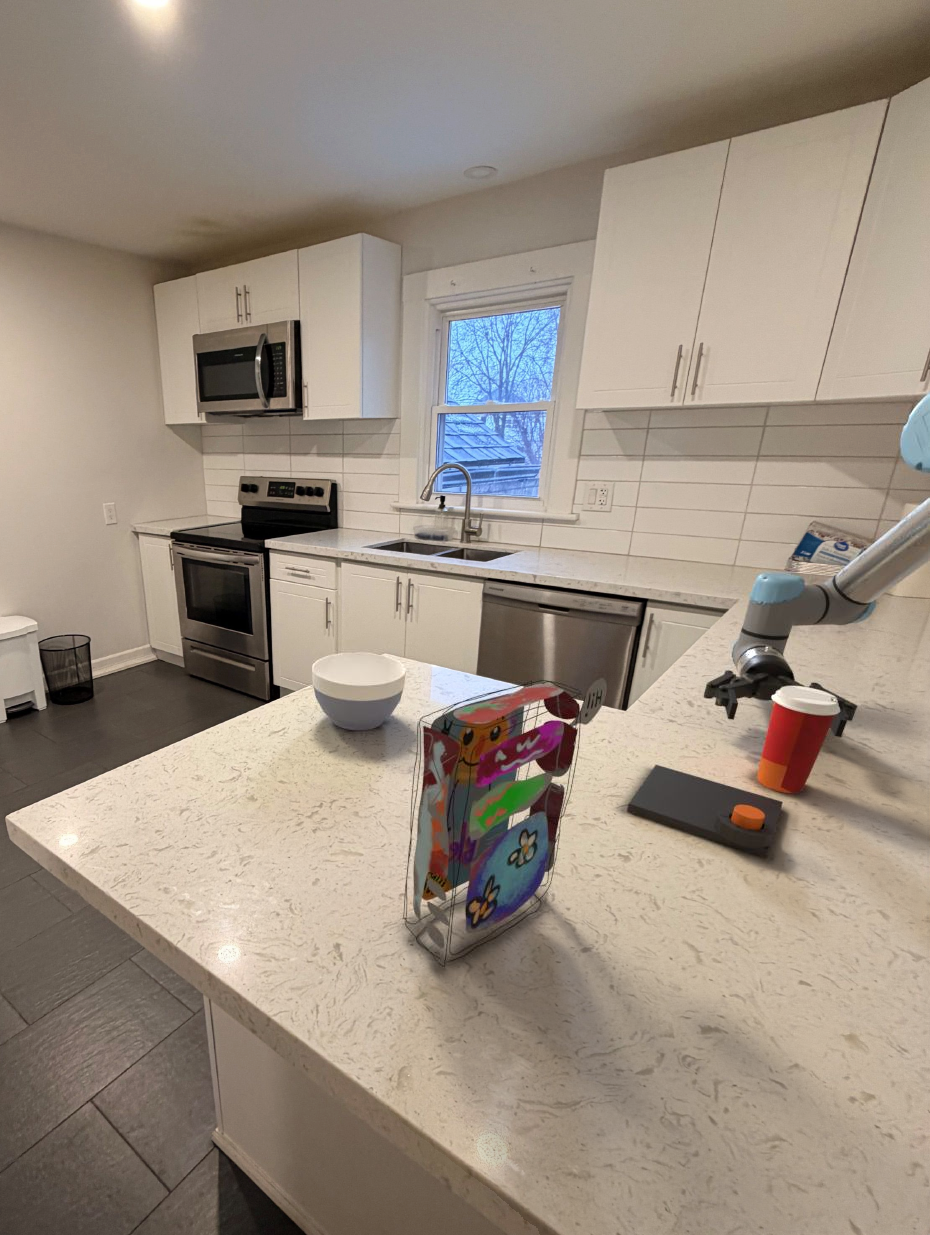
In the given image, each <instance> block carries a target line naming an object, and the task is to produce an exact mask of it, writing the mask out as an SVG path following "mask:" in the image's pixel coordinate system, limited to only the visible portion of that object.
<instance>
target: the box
mask: <svg viewBox="0 0 930 1235" xmlns="http://www.w3.org/2000/svg"><path fill="white" fill-rule="evenodd" d="M540 682H542V683H540ZM535 683H536V684H535ZM546 683H550V684H553V685H555V686H553V685H550V684H546ZM526 685H529V686H526ZM561 685H562V686H561ZM522 686H523V687H522ZM563 686H565V687H567V688H565V687H563ZM520 687H522V688H520ZM516 688H520V689H519V690H516V691H514V692H511V693H505V694H502V695H498V696H494V697H490V698H486V699H482V698H485V697H488V696H490V695H492V694H497V693H501V692H504V691H508V690H511V689H512V690H513V689H516ZM568 688H570V689H572V690H570V689H568ZM607 688H608V686H607V681H606V680H605V678H604V677H601V678H598V679H596V680H595V681H594V682H592V684H591V685H590V687H589V688H588V690H587V691H586V694H584V699H583V702H582V705H581V706H580V703H578V701H577V700H576V699H575V698H577V697H578V696H579V695H580V696H583V694H582V690H580V689H578V688H575V687H572V686H569V685H567V684H564V683H561V682H556V681H552V680H547V679H546V680H545V679H541V680H536V681H533V680H532V679H531V680H528V681H527V682H525V683H522V684H520V685H517V686H512V687H508V688H504V689H500V690H495V691H491V692H487V693H483V694H480V695H476V696H472V697H470V698H467V699H465V700H462V701H458V702H456V703H454V704H451V705H448V706H446V707H445V708H444V707H443V708H442V709H441V708H440V709H439V710H436V711H433V712H430V713H429V714H427V715H423V716H422V717H420V718H419V719H417V720H418V724H417V727H416V754H415V762H414V767H413V775H412V785H411V798H410V800H411V802H410V818H411V820H410V824H409V825H410V828H409V830H410V839H409V845H408V856H407V868H406V876H405V877H406V878H405V886H404V896H405V897H404V900H403V913H402V914H403V916H402V919H403V920H404V921H405V922H404V923H405V924H404V925H405V926H404V927H406V928H407V929H408V931H409V932H410V933H411V934H412V935H413V936H414V938H415V941H416V942H417V943H418V944H419V945H420V946H421V947H422V948H424V949H425V950H426V951H427V952H429V953H430V955H431V956H432V957H433V959H434V961H436V962H437V963H438V965H440V966H441V967H442V968H445V967H446V962H448V963H450V962H454V961H456V960H458V959H461V958H463V957H465V956H467V955H468V954H470V953H471V952H473V950H475V949H477V948H478V947H480V946H482V945H485V944H487V943H489V942H491V941H493V940H495V939H497V938H498V937H499V936H501V935H502V934H503V933H504V932H506V931H507V930H509V929H511V928H514V927H515V926H516V925H518V924H519V923H521V922H522V921H523V920H524V919H526V918H527V917H529V915H532V914H534V913H536V912H538V911H539V909H540V908H541V906H542V901H541V900H542V898H543V897H544V896H545V894H546V893H547V892H548V890H549V889H550V886H551V884H552V882H553V876H554V872H555V871H554V870H555V865H556V861H557V857H558V851H559V843H560V837H561V835H560V834H561V826H562V825H561V824H562V818H563V817H564V815H565V812H566V809H567V806H568V803H569V800H570V796H571V794H572V789H573V784H574V783H573V782H574V779H575V778H574V777H575V772H576V766H577V762H578V756H579V751H580V750H579V749H580V740H581V739H580V738H581V724H582V725H585V726H586V725H588V724H590V723H591V722H592V721H593V719H594V718H595V717H596V716H597V714H598V713H599V711H600V710H601V708H602V706H603V704H604V702H605V700H606V696H607V690H608V689H607ZM565 690H566V691H568V692H570V693H573V694H576V695H574V696H571V694H569V693H568V692H566V691H565ZM573 690H575V691H576V692H575V691H573ZM477 699H478V701H474V700H477ZM479 699H482V700H479ZM471 701H473V702H471ZM541 701H543V705H540V703H541ZM465 702H470V703H467V704H465V705H462V706H459V707H456V706H458V705H459V704H463V703H465ZM537 702H538V703H537ZM535 703H537V704H538V706H536V707H531V705H532V704H535ZM525 706H528V708H527V709H526V710H525ZM455 707H456V708H455ZM544 707H545V709H546V711H544V712H541V713H539V708H544ZM453 708H454V709H453ZM446 709H447V710H446ZM451 709H452V710H451ZM535 709H536V710H537V711H536V715H534V716H532V717H530V718H528V715H529V711H531V710H535ZM444 710H446V711H444ZM441 711H444V712H443V713H442V715H439V716H438V717H437V718H435V719H434V720H433V722H432V723H430V722H427V721H424V720H422V719H423V718H425V717H429V716H431V715H433V714H435V713H439V712H441ZM525 713H526V715H525ZM546 713H549V714H550V715H552V716H553V717H555V718H558V719H560V720H555V719H554V720H553V719H552V720H548V721H544V723H543V724H541V725H540V726H536V725H537V720H538V717H539V716H542V715H543V714H546ZM524 715H525V719H524ZM534 718H535V721H534V722H535V723H534V727H533V728H532V729H530V730H527V731H525V725H526V722H528V721H530V720H531V719H534ZM562 720H568V721H569V720H572V722H570V723H567V722H565V721H562ZM421 722H423V723H424V724H427V725H429V726H430V727H428V726H427V725H422V728H421ZM577 725H579V726H578V727H577ZM421 729H422V730H421ZM422 732H423V736H422ZM577 736H578V744H577ZM422 737H423V774H422V785H421V786H422V788H421V792H420V794H421V795H420V800H419V807H418V812H417V813H418V814H417V829H416V830H417V833H416V844H415V850H414V856H413V870H412V871H413V897H412V908H413V912H414V916H416V918H417V919H418V921H416V922H415V923H413V922H409V921H408V920H407V918H408V874H409V864H410V858H411V850H412V842H413V841H412V838H413V837H412V834H413V826H414V817H415V816H414V815H415V808H416V802H417V796H418V789H419V788H418V787H419V781H420V780H419V779H420V770H421V760H422V744H421V743H422V742H421V740H422V739H421V738H422ZM576 745H577V751H576V757H575V763H574V769H573V775H572V778H571V784H570V777H571V770H572V766H573V760H574V755H575V748H576ZM418 750H419V751H418ZM418 752H419V764H418V774H417V783H416V792H415V797H414V785H415V784H414V783H415V771H416V767H417V762H418ZM533 761H535V763H536V764H537V766H538V767H539V768H540V769H541V770H542V771H543V772H542V773H540V774H537V775H534V776H532V777H529V778H528V774H529V770H530V766H531V762H533ZM526 764H528V768H527V772H526V775H525V776H526V777H525V779H524V780H523V779H522V780H521V779H520V780H519V775H520V769H521V767H523V766H524V765H526ZM568 771H569V773H568ZM567 773H568V780H567V785H566V792H565V786H564V785H563V784H560V783H559V784H557V783H555V782H553V777H555V778H560V777H564V776H565V775H566V774H567ZM569 784H570V790H569ZM568 790H569V791H570V792H569V794H568ZM567 795H568V798H567ZM413 797H414V798H415V799H414V798H413ZM566 798H567V800H566ZM413 799H414V805H413ZM528 809H529V814H527V815H525V816H524V819H523V820H520V821H519V822H517V823H516V824H514V825H513V822H514V815H516V814H519V813H523V812H524V811H526V810H528ZM510 817H511V818H512V819H511V825H510V828H509V824H510ZM557 833H558V834H557ZM556 843H557V845H556ZM555 850H556V851H555ZM551 870H552V873H551V878H549V874H550V871H551ZM546 873H547V881H546V883H544V884H543V885H541V884H542V882H543V880H544V876H545V875H546ZM549 879H550V882H549ZM466 883H468V886H466V887H464V888H462V889H461V890H460V891H459V892H457V888H458V887H460V886H461V885H464V884H466ZM548 883H549V885H548V887H547V889H546V890H545V892H544V893H543V894H542V895H541V896H540V898H539V896H537V895H536V893H537V891H538V890H539V887H544V886H546V885H547V884H548ZM466 889H467V891H466V892H467V893H466V899H465V900H463V901H460V902H456V897H457V896H458V895H460V894H461V893H462V892H463V891H464V890H466ZM450 891H452V892H451V898H450V899H448V900H447V894H446V893H448V892H450ZM533 896H535V897H536V899H537V900H536V901H535V902H533V904H532V905H530V906H529V907H528V908H526V909H525V910H524V911H523V912H522V913H520V914H519V915H518V916H516V917H514V918H513V919H511V920H509V921H508V922H506V923H505V924H503V925H500V926H499V927H498V928H496V929H495V930H493V931H491V932H490V933H489V934H487V935H486V936H484V937H483V938H481V939H480V940H478V941H476V942H473V943H472V944H470V945H468V946H466V947H465V948H463V949H462V950H460V951H458V952H456V953H452V952H451V943H452V932H453V920H454V911H455V906H457V905H459V904H461V903H462V904H463V903H464V902H465V909H464V910H465V911H464V912H465V913H464V914H465V915H464V916H465V932H466V933H467V935H472V934H476V933H479V932H482V931H486V930H488V929H490V928H492V927H494V926H495V925H497V924H499V923H500V922H502V921H504V920H506V919H507V918H509V917H511V916H513V915H514V913H516V912H517V911H518V910H519V909H520V908H521V907H523V906H524V905H525V904H526V903H527V902H528V901H530V900H531V898H532V897H533ZM436 898H438V899H439V900H441V901H442V903H441V904H440V905H439V906H437V905H436V904H434V903H432V902H431V901H430V900H433V899H436ZM422 900H424V901H427V902H426V903H427V904H426V905H427V908H428V911H429V912H430V913H429V914H426V915H425V916H423V917H421V913H422V912H421V911H422V910H421V904H422ZM448 902H450V905H449V906H448V907H446V908H444V909H443V910H442V909H441V908H440V907H441V906H443V905H444V904H445V903H448ZM538 902H539V903H540V904H539V905H538V908H537V909H536V910H534V911H532V912H530V913H527V914H526V915H525V916H524V917H522V918H521V919H520V920H518V922H516V923H515V924H513V925H511V926H509V927H508V928H506V929H504V930H503V931H502V932H500V933H499V934H498V935H496V936H495V937H492V938H491V939H489V940H487V941H484V942H482V941H483V940H485V939H487V938H488V937H489V936H491V935H492V934H493V933H495V932H496V931H498V930H499V929H501V928H503V927H504V926H507V925H508V924H510V923H511V922H513V921H515V920H516V919H518V918H519V917H521V916H522V915H523V914H525V913H526V912H528V910H529V909H531V908H532V907H533V906H535V905H536V903H538ZM449 908H450V909H449ZM448 909H449V910H450V911H449V919H448V917H447V915H446V913H445V912H444V911H446V910H448ZM430 915H433V916H434V919H432V920H431V921H429V920H428V921H427V922H426V925H425V927H424V928H423V929H422V930H421V931H420V932H419V933H418V934H417V935H415V934H414V933H413V931H412V930H411V929H410V928H409V927H408V926H407V923H408V924H410V925H416V924H418V923H419V922H421V921H422V920H423V919H425V918H426V917H428V916H430ZM436 919H438V920H439V921H440V922H441V923H442V924H443V925H444V926H447V927H448V928H447V937H446V938H447V939H446V940H445V937H444V934H443V933H442V931H441V930H440V929H439V928H438V927H437V926H435V925H434V924H433V922H434V921H435V920H436ZM424 930H426V933H427V935H428V936H429V938H430V939H431V941H432V942H433V943H434V944H435V945H436V946H437V947H438V948H440V949H444V948H445V956H444V957H445V958H444V960H442V959H441V958H440V957H439V956H437V955H436V954H435V953H433V951H431V950H429V948H428V947H427V946H426V945H425V944H424V943H423V942H422V941H421V940H420V939H419V938H418V937H419V935H420V934H422V932H423V931H424ZM449 935H450V936H449ZM445 941H446V942H445ZM480 942H482V943H480ZM448 943H449V946H448ZM478 943H480V944H478ZM476 944H478V945H476ZM474 945H476V946H475V947H473V948H471V950H469V951H468V952H467V953H465V954H463V955H461V956H459V957H456V958H453V959H451V960H447V952H448V950H449V953H450V955H451V956H457V955H458V954H459V955H460V954H461V953H462V952H464V951H465V950H466V949H468V948H470V947H472V946H474ZM445 946H446V947H445ZM448 947H449V948H448ZM438 960H440V962H441V961H442V962H443V964H441V963H440V962H439V961H438ZM446 960H447V961H446Z"/></svg>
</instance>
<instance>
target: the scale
mask: <svg viewBox="0 0 930 1235" xmlns="http://www.w3.org/2000/svg"><path fill="white" fill-rule="evenodd" d="M737 805H748V806H752V807H755V808H757V809H759V810H761V811H762V812H763V813H764V815H765V818H764V821H763V824H762V827H761V829H760V830H749V829H746V828H742V827H739V826H738V825H736V824H734V823H733V822H732V821H731V817H732V814H733V811H734V808H735V806H737ZM782 806H783V801H781V800H778V799H775V798H771V797H768V796H764V795H761V794H758V793H754V792H752V791H747V790H744V789H741V788H738V787H734V786H730V785H728V784H723V783H720V782H717V781H714V780H710V779H706V778H704V777H699V776H697V775H693V774H689V773H686V772H682V771H679V770H676V769H672V768H670V767H666V766H662V765H659V764H654V766H653V767H652V769H651V771H650V772H649V773H648V775H647V776H646V777H645V779H644V781H643V782H642V783H641V785H640V786H639V788H638V789H637V790H636V792H635V794H634V795H633V796H632V798H631V799H630V801H629V802H628V804H627V808H626V811H627V812H629V813H632V814H635V815H638V816H641V817H644V818H647V819H649V820H651V821H652V820H653V821H655V822H658V823H662V824H664V825H666V826H670V827H673V828H677V829H679V830H682V831H685V832H687V833H690V834H692V835H693V834H694V835H697V836H699V837H702V838H705V839H709V840H712V841H714V842H716V843H720V844H723V845H726V846H729V847H732V848H735V849H736V850H737V849H738V850H740V851H743V852H747V853H748V854H749V853H750V854H752V855H754V856H757V857H761V858H764V859H767V858H768V855H769V852H770V849H771V846H772V844H773V841H774V839H775V838H774V837H775V835H776V831H777V824H778V820H779V817H780V813H781V809H782Z"/></svg>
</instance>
